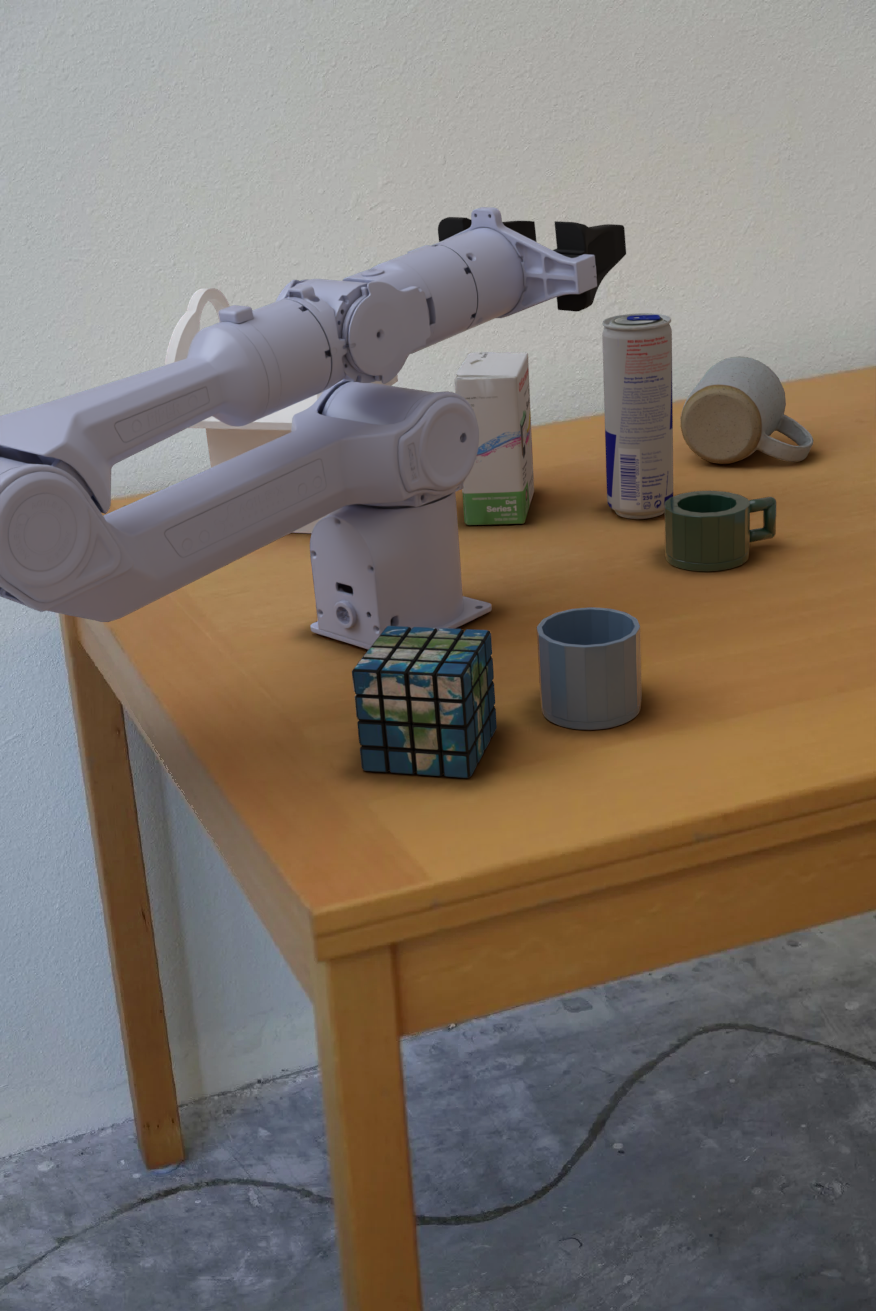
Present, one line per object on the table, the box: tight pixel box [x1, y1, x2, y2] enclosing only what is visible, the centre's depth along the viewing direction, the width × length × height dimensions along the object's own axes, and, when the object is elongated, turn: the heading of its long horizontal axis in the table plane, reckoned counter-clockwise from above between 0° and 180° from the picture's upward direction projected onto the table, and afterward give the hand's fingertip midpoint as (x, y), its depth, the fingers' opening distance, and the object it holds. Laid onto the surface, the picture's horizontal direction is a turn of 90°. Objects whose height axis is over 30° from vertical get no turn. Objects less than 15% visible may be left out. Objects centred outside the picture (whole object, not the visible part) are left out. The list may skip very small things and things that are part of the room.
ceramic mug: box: [680, 356, 814, 465], centre depth 124 cm, size 11×8×8 cm
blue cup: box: [536, 606, 643, 731], centre depth 82 cm, size 6×6×5 cm
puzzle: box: [351, 626, 498, 779], centre depth 79 cm, size 6×6×6 cm
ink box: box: [454, 351, 535, 526], centre depth 115 cm, size 8×5×12 cm, turn 171°
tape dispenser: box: [163, 287, 399, 534], centre depth 116 cm, size 14×13×18 cm
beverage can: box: [601, 312, 674, 520], centre depth 112 cm, size 5×5×15 cm
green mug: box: [664, 490, 777, 572], centre depth 104 cm, size 8×6×4 cm
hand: (575, 237), depth 101 cm, fingers open, 7 cm apart
